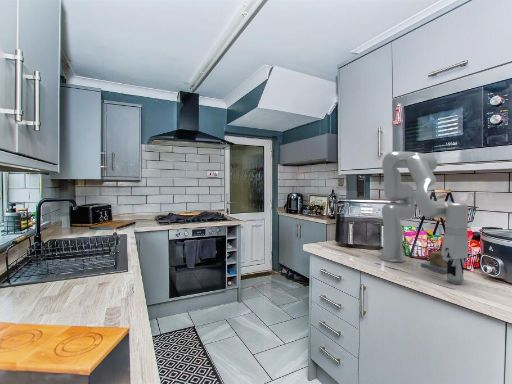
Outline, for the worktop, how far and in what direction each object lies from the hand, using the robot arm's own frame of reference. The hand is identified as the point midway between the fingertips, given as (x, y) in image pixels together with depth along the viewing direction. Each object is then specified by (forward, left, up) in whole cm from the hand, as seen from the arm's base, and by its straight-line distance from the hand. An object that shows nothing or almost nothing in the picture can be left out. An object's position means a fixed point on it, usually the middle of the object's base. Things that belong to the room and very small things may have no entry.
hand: (455, 273), depth 114 cm
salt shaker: (0, 0, -4) cm, 4 cm away
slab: (-15, +12, -4) cm, 20 cm away
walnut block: (-15, +12, -2) cm, 19 cm away
